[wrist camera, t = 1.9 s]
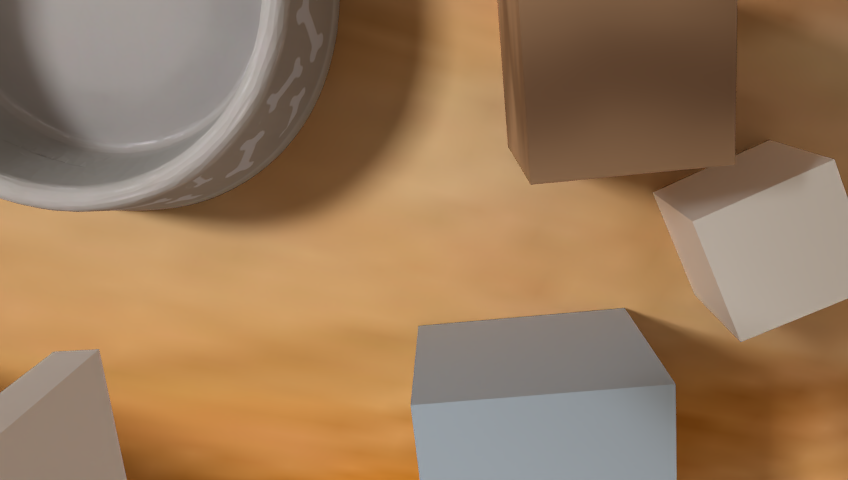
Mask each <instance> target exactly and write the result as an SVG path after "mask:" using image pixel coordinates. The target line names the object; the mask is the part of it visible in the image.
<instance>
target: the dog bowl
mask: <svg viewBox="0 0 848 480" xmlns="http://www.w3.org/2000/svg"><path fill="white" fill-rule="evenodd" d="M339 1H340V0H0V198H1V199H4V200H8V201H11V202H14V203H18V204H22V205H26V206H31V207H36V208H42V209H48V210H56V211H73V212H84V211H110V210H129V211H143V210H159V209H169V208H177V207H182V206H187V205H191V204H195V203H199V202H202V201H205V200H208V199H211V198H214V197H216V196H219V195H221V194H223V193H225V192H227V191H230V190H232V189H234V188H235V187H237V186H239V185H241V184H243V183H244V182H246V181H247V180H249V179H250V178H252V177H253V176H255V175H256V174H258V173H259V172H260V171H262V170H263V169H264V168H265V167H267V166H268V165H269V164H270V163H271V162H272V161H273V160H274V159H275V158H276V157H278V156H279V155H280V154H281V153H282V152H283V150H284V149H285V148H286V147H287V146H288V145H289V144H290V142H291V141H292V140H293V139H294V138H295V136H296V135H297V133H298V132H299V131H300V129H301V128H302V126H303V125H304V123H305V122H306V120H307V118H308V117H309V115H310V113H311V112H312V110H313V108H314V106H315V104H316V102H317V100H318V98H319V95H320V93H321V90H322V88H323V86H324V83H325V80H326V77H327V74H328V71H329V67H330V64H331V60H332V56H333V52H334V47H335V42H336V36H337V29H338V19H339Z"/></svg>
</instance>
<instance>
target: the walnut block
mask: <svg viewBox="0 0 848 480" xmlns="http://www.w3.org/2000/svg"><path fill="white" fill-rule="evenodd" d="M497 3H498V16H499V30H500V43H501V57H502V71H503V84H504V98H505V111H506V125H507V139H508V147H509V149H510V151H511V152H512V154H513V156H514V157H515V159H516V161H517V162H518V164H519V166H520V167H521V169H522V171H523V172H524V174H525V176H526V177H527V179H528V181H529V182H530V184H531V185H533V184H543V183H553V182H563V181H574V180H584V179H594V178H604V177H615V176H625V175H635V174H645V173H656V172H666V171H676V170H686V169H697V168H707V167H717V166H727V165H735V132H736V60H737V0H497Z"/></svg>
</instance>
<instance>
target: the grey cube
mask: <svg viewBox="0 0 848 480" xmlns="http://www.w3.org/2000/svg"><path fill="white" fill-rule="evenodd" d="M653 195H654V197H655V199H656V202H657V204H658V207H659V209H660V212H661V214H662V217H663V219H664V221H665V224H666V226H667V229H668V231H669V234H670V236H671V238H672V241H673V243H674V246H675V248H676V251H677V253H678V255H679V258H680V260H681V263H682V265H683V268H684V270H685V272H686V275H687V277H688V280H689V282H690V285H691V287H692V290H693V292H694V294H695V296H696V297H697V298H698V299H699V300H700V301H701V302H702V303H703V304H704V305H705V306H706V307H707V308H708V309H709V310H710V311H711V312H712V313H713V314H714V315H715V316H716V317H717V318H718V319H719V320H720V321H721V322H722V323H723V324H724V326H725V327H726V328H727V329H728V330H729V331H730V332H731V333H732V334H733V335H734V336H735V337H736V338H737V339H738V340H739V341H740V342H742V341H745V340H747V339H750V338H752V337H755V336H757V335H760V334H762V333H764V332H767V331H769V330H772V329H774V328H777V327H779V326H782V325H784V324H787V323H789V322H791V321H794V320H796V319H799V318H801V317H804V316H806V315H809V314H811V313H814V312H816V311H818V310H821V309H823V308H826V307H828V306H831V305H833V304H836V303H838V302H841V301H843V300H845V299H848V197H847V195H846V192H845V189H844V186H843V183H842V180H841V177H840V174H839V171H838V168H837V165H836V162H835V159H832V158H829V157H825V156H822V155H819V154H815V153H812V152H809V151H805V150H802V149H799V148H795V147H792V146H789V145H785V144H782V143H779V142H775V141H772V140H768V141H766V142H764V143H762V144H760V145H757V146H755V147H753V148H751V149H748V150H746V151H744V152H742V153H740V154H737V155H735V165H727V166H717V167H708V168H706V169H704V170H702V171H699V172H697V173H695V174H693V175H691V176H688V177H686V178H684V179H682V180H679V181H677V182H675V183H673V184H671V185H668V186H666V187H664V188H662V189H659V190H657V191H655V192H653Z"/></svg>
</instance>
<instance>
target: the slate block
mask: <svg viewBox="0 0 848 480" xmlns="http://www.w3.org/2000/svg"><path fill="white" fill-rule="evenodd" d="M411 412H412V420H413V428H414V436H415V444H416V452H417V460H418V468H419V476H420V480H677V468H676V384H675V382H674V381H673V379H672V378H671V376H670V375H669V373H668V372H667V370H666V369H665V367H664V366H663V364H662V363H661V361H660V360H659V358H658V357H657V355H656V354H655V352H654V351H653V350H652V348H651V347H650V345H649V344H648V342H647V341H646V339H645V338H644V336H643V335H642V333H641V332H640V330H639V329H638V327H637V326H636V324H635V323H634V321H633V320H632V318H631V317H630V315H629V314H628V312H627V311H626V309H625V308H620V309H608V310H597V311H585V312H574V313H562V314H551V315H539V316H528V317H516V318H504V319H493V320H481V321H470V322H458V323H447V324H435V325H424V326H418V336H417V346H416V356H415V367H414V377H413V387H412V397H411Z"/></svg>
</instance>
